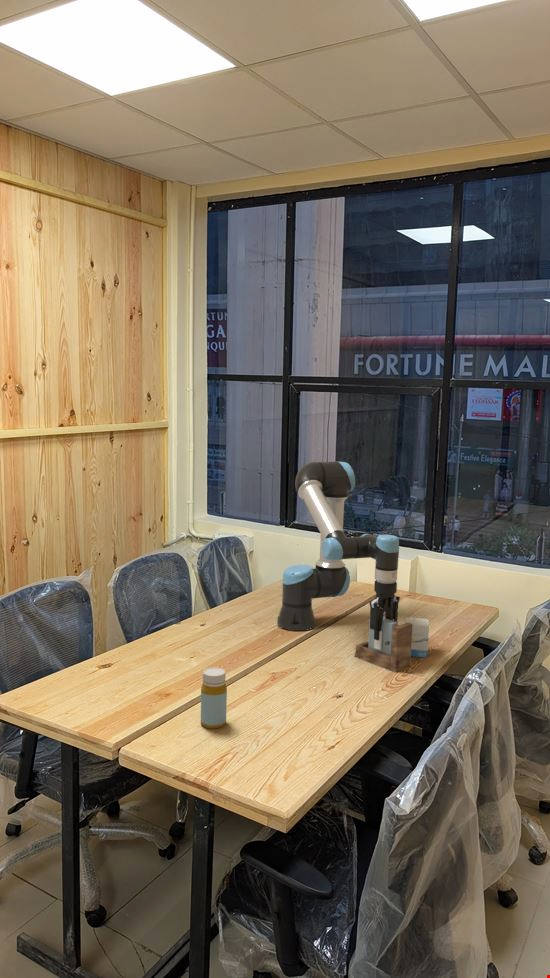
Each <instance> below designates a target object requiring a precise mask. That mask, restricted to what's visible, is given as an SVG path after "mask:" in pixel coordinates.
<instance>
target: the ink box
mask: <svg viewBox="0 0 550 978" xmlns="http://www.w3.org/2000/svg"><path fill="white" fill-rule="evenodd" d="M429 620H430V619H427V618H419V617H405V620H404V623H411V624H412V642H411V657H417V658H428V653H429V652H428V651H429V636H430V635H429V633H430V621H429Z"/></svg>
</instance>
